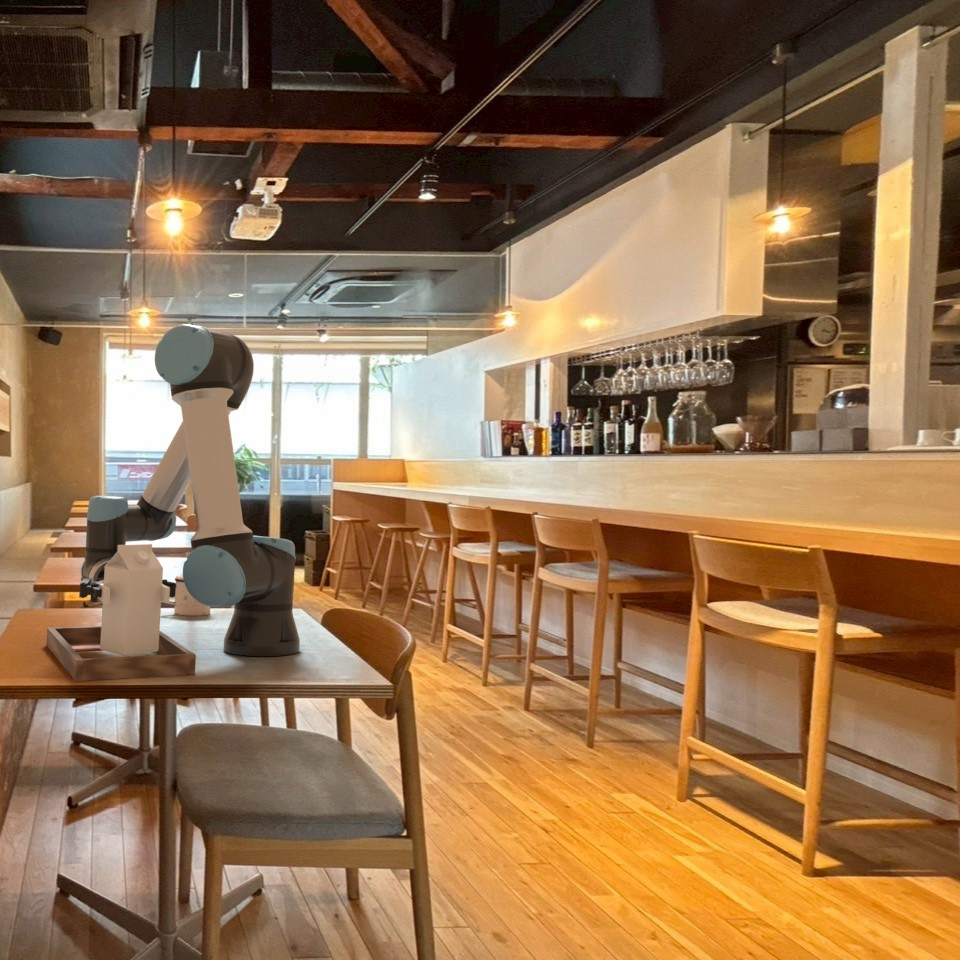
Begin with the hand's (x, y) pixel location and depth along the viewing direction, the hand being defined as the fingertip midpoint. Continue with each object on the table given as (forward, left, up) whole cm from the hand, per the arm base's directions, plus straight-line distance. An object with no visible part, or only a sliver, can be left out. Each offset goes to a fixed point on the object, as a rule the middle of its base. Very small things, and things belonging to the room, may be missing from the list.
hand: (137, 595), depth 178 cm
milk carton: (+2, -4, -11) cm, 12 cm away
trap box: (+6, -16, -14) cm, 22 cm away
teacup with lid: (-1, -77, -14) cm, 79 cm away
